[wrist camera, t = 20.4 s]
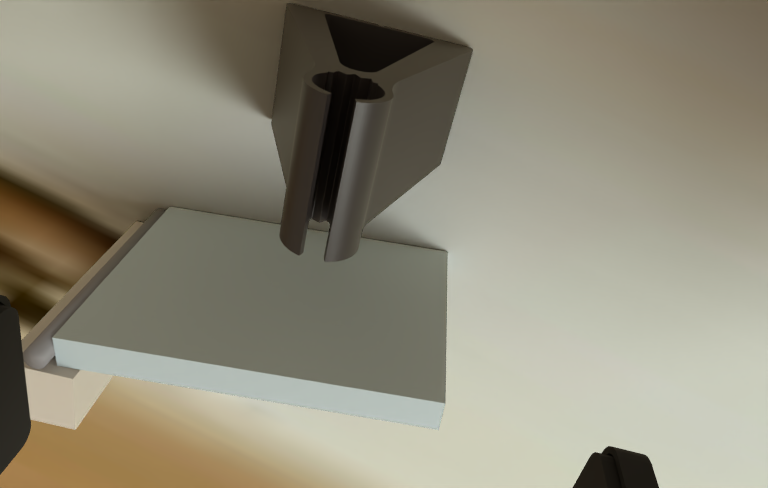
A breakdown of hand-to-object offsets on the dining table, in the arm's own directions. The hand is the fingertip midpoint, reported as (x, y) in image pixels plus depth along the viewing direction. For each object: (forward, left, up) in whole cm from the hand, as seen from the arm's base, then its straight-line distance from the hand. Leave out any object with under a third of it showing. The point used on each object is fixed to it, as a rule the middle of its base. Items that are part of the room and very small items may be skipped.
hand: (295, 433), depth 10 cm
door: (+3, +11, -23) cm, 26 cm away
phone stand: (+1, +1, -24) cm, 24 cm away
